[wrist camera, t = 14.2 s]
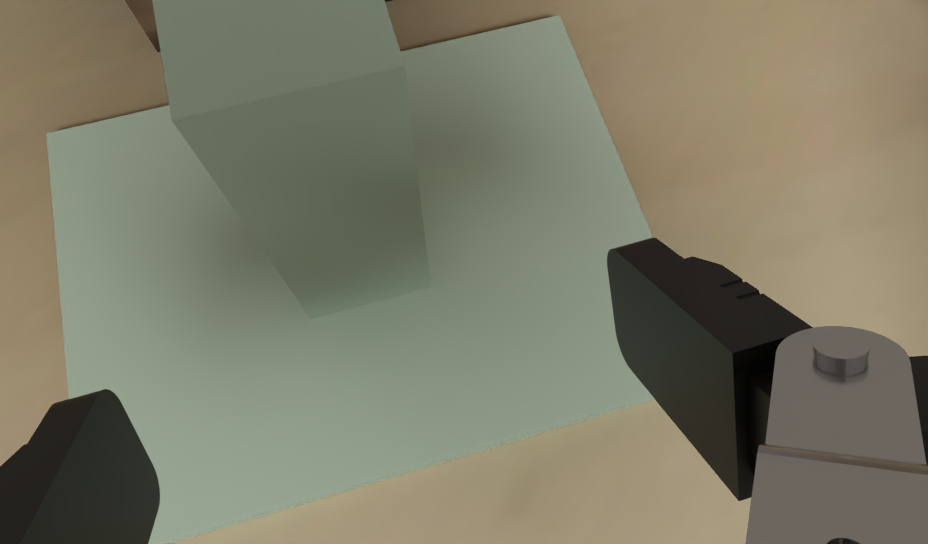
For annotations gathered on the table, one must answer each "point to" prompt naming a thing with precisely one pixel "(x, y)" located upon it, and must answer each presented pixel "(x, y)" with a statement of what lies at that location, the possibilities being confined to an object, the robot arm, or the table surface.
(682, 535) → the table surface
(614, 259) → the robot arm
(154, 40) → the crate
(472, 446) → the lid
